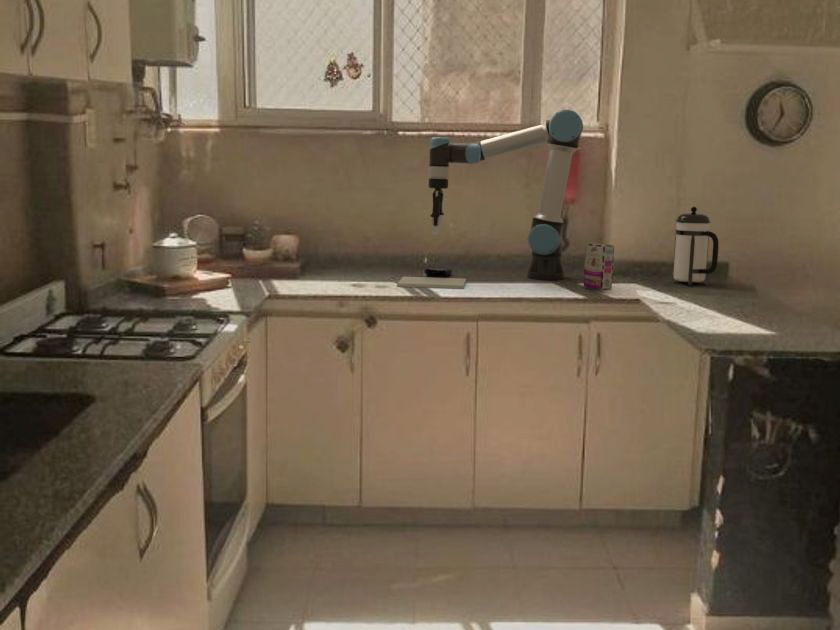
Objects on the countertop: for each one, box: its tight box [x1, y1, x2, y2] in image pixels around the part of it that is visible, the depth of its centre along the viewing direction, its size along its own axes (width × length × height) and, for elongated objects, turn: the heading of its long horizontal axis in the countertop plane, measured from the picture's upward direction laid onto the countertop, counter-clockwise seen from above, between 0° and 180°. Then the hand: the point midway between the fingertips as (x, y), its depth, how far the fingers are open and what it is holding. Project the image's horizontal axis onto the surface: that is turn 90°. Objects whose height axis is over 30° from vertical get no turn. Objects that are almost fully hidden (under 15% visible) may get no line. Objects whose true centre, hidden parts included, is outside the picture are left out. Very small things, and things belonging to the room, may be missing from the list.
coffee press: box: [668, 206, 719, 287], centre depth 353 cm, size 17×16×30 cm
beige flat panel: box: [396, 276, 467, 290], centre depth 339 cm, size 24×20×1 cm
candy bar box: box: [582, 242, 615, 291], centre depth 337 cm, size 11×5×16 cm, turn 27°
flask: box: [423, 267, 453, 278], centre depth 363 cm, size 9×3×11 cm
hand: (436, 233), depth 356 cm, fingers open, 13 cm apart
